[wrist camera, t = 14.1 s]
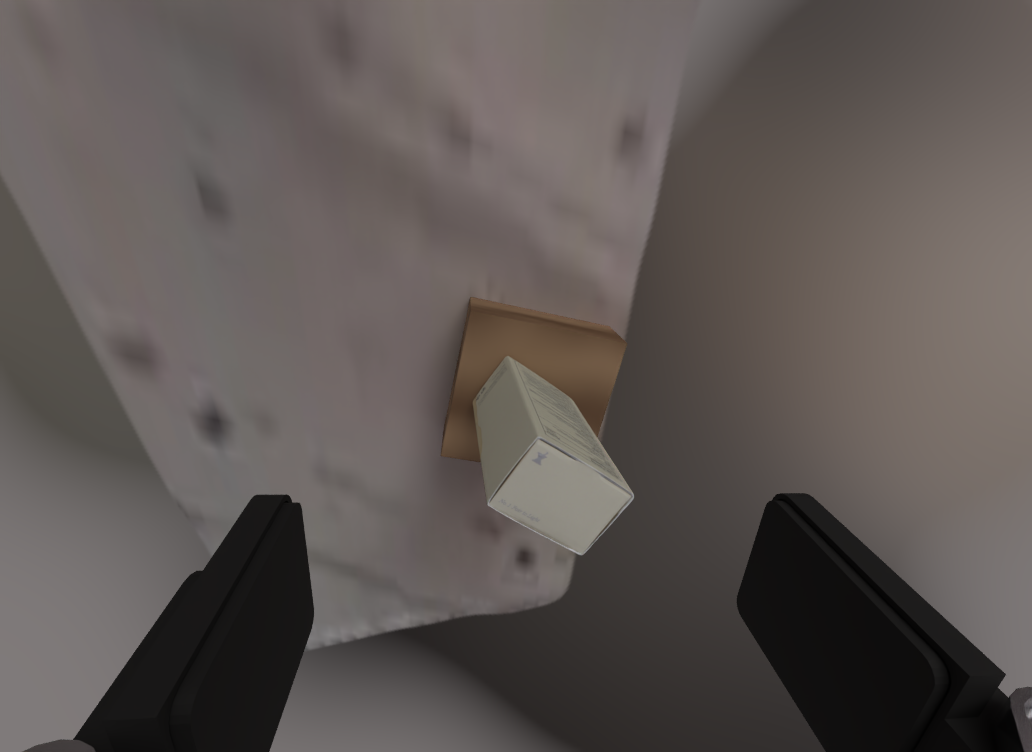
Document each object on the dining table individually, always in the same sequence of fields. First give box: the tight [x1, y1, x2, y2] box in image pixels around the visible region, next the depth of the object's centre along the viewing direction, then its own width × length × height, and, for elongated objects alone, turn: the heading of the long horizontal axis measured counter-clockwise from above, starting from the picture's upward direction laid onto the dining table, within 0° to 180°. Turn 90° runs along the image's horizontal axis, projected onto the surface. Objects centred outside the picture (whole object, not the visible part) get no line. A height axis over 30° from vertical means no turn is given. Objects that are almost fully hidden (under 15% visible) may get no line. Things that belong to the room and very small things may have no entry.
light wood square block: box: [441, 297, 627, 462], centre depth 36 cm, size 11×11×5 cm
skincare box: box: [473, 356, 634, 555], centre depth 28 cm, size 6×4×12 cm
